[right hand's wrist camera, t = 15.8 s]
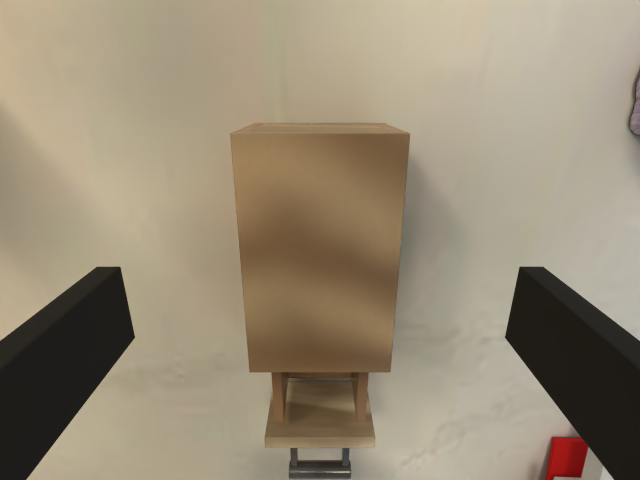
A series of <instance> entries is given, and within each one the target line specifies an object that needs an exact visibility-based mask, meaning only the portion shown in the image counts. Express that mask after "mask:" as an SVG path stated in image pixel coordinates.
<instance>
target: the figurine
mask: <svg viewBox="0 0 640 480" xmlns="http://www.w3.org/2000/svg"><path fill="white" fill-rule="evenodd" d="M630 129H631V130H633V133H635V134H637V135H640V77H639V79H638V81H637V82H636V103H635V107H634V111H633V114H632V116H631V122H630Z"/></svg>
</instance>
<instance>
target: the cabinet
mask: <svg viewBox="0 0 640 480" xmlns="http://www.w3.org/2000/svg"><path fill="white" fill-rule="evenodd" d="M230 135H231V148H232V160H233V172H234V185H235V197H236V209H237V222H238V234H239V246H240V259H241V271H242V283H243V296H244V308H245V320H246V333H247V345H248V357H249V369H250V372H390V369H391V357H392V345H393V333H394V321H395V309H396V297H397V285H398V273H399V260H400V248H401V236H402V224H403V212H404V200H405V188H406V176H407V163H408V151H409V139H410V134H409V133H407V132H404V131H402V130H400V129H397V128H395V127H393V126H390V125H388V124H386V123H254V124H252V125H250V126H247V127H245V128H243V129H240V130H238V131H236V132H233V133H231V134H230Z"/></svg>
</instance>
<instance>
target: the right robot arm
mask: <svg viewBox="0 0 640 480" xmlns="http://www.w3.org/2000/svg"><path fill="white" fill-rule="evenodd" d="M134 338H135V336H134V331H133V326H132V321H131V316H130V311H129V306H128V302H127V297H126V292H125V287H124V282H123V277H122V273H121V268H120V267H96V268H95V269H94V270H92V271H91V272H90V273H88V274H87V275H86V276H84V277H83V278H82V279H80V280H79V281H78V282H77V283H75V284H74V285H73V286H71V287H70V288H69V289H67V290H66V291H65V292H64V293H62V294H61V295H60V296H58V297H57V298H56V299H54V300H53V301H52V302H51V303H49V304H48V305H47V306H45V307H44V308H43V309H41V310H40V311H39V312H38V313H36V314H35V315H34V316H32V317H31V318H30V319H28V320H27V321H26V322H24V323H23V324H22V325H21V326H19V327H18V328H17V329H15V330H14V331H13V332H11V333H10V334H9V335H8V336H6V337H5V338H4V339H2V340H1V341H0V480H26V479H27V478H28V477H29V475H30V474H31V473H32V471H33V470H34V469H35V467H36V466H37V465H38V464H39V462H40V461H41V460H42V458H43V457H44V456H45V454H46V453H47V452H48V450H49V449H50V448H51V447H52V445H53V444H54V443H55V441H56V440H57V439H58V437H59V436H60V435H61V433H62V432H63V431H64V430H65V428H66V427H67V426H68V424H69V423H70V422H71V420H72V419H73V418H74V416H75V415H76V414H77V413H78V411H79V410H80V409H81V407H82V406H83V405H84V403H85V402H86V401H87V399H88V398H89V397H90V396H91V394H92V393H93V392H94V390H95V389H96V388H97V386H98V385H99V384H100V382H101V381H102V380H103V379H104V377H105V376H106V375H107V373H108V372H109V371H110V369H111V368H112V367H113V365H114V364H115V363H116V362H117V360H118V359H119V358H120V356H121V355H122V354H123V352H124V351H125V350H126V349H127V347H128V346H129V345H130V343H131V342H132V341H133V339H134ZM505 338H506V339H507V341H508V342H509V343H510V345H511V346H512V347H513V349H514V350H515V351H516V352H517V354H518V355H519V356H520V358H521V359H522V360H523V362H524V363H525V364H526V366H527V367H528V368H529V369H530V371H531V372H532V373H533V375H534V376H535V377H536V379H537V380H538V381H539V382H540V384H541V385H542V386H543V388H544V389H545V390H546V392H547V393H548V394H549V396H550V397H551V398H552V399H553V401H554V402H555V403H556V405H557V406H558V407H559V409H560V410H561V411H562V413H563V414H564V415H565V416H566V418H567V419H568V420H569V422H570V423H571V424H572V426H573V427H574V428H575V430H576V431H577V432H578V433H579V435H580V436H581V437H582V439H583V440H584V441H585V443H586V444H587V445H588V447H589V448H590V449H591V450H592V452H593V453H594V454H595V456H596V457H597V458H598V460H599V461H600V462H601V464H602V465H603V466H604V467H605V469H606V470H607V471H608V473H609V474H610V475H611V477H612V478H613V479H614V480H640V341H639V340H638V339H636V338H635V337H634V336H632V335H631V334H630V333H629V332H627V331H626V330H625V329H623V328H622V327H621V326H619V325H618V324H617V323H616V322H614V321H613V320H612V319H610V318H609V317H608V316H606V315H605V314H604V313H602V312H601V311H600V310H599V309H597V308H596V307H595V306H593V305H592V304H591V303H589V302H588V301H587V300H586V299H584V298H583V297H582V296H580V295H579V294H578V293H576V292H575V291H574V290H573V289H571V288H570V287H569V286H567V285H566V284H565V283H563V282H562V281H561V280H560V279H558V278H557V277H556V276H554V275H553V274H552V273H550V272H549V271H548V270H546V269H545V268H544V267H520V268H519V273H518V277H517V282H516V287H515V292H514V297H513V302H512V306H511V311H510V316H509V321H508V326H507V331H506V336H505Z"/></svg>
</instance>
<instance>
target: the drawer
mask: <svg viewBox="0 0 640 480" xmlns="http://www.w3.org/2000/svg"><path fill="white" fill-rule="evenodd" d="M288 378H351V379H352V382H288ZM272 388H273V389H272V396H271V402H270V408H269V414H268V421H267V427H266V433H265V447H266V448H291V460H290V463H289V479H351V464H350V460H349V448H374V447H375V434H374V427H373V421H372V415H371V409H370V403H369V396H368V390H367V388H368V372H272ZM298 448H342V460H298Z"/></svg>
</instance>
